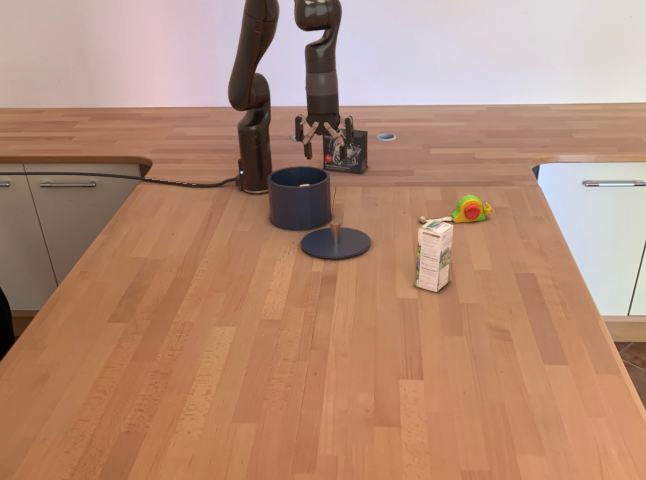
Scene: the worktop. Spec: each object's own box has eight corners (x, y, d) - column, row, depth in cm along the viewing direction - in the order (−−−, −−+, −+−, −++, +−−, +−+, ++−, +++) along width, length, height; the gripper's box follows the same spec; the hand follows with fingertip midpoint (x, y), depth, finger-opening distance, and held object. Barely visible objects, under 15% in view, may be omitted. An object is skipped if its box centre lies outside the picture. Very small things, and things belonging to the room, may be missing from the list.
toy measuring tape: (494, 222, 189) (496, 199, 185) (422, 227, 188) (423, 203, 184) (488, 213, 194) (490, 190, 191) (417, 217, 193) (418, 194, 190)
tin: (261, 227, 191) (257, 184, 184) (285, 204, 204) (282, 163, 198) (318, 233, 186) (316, 190, 180) (339, 210, 199) (338, 168, 193)
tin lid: (290, 255, 175) (289, 232, 172) (315, 228, 189) (314, 206, 186) (358, 264, 170) (358, 241, 167) (378, 235, 184) (379, 213, 181)
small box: (322, 170, 228) (321, 133, 221) (330, 163, 233) (329, 127, 227) (361, 174, 224) (360, 136, 217) (368, 167, 229) (368, 130, 222)
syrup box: (426, 276, 164) (429, 218, 156) (449, 283, 161) (453, 223, 153) (414, 286, 160) (417, 227, 152) (437, 293, 157) (441, 233, 149)
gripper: (356, 87, 165) (358, 156, 173) (299, 86, 169) (304, 153, 178) (346, 95, 159) (349, 166, 167) (287, 93, 163) (293, 162, 172)
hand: (325, 159), depth 172 cm, fingers open, 8 cm apart
